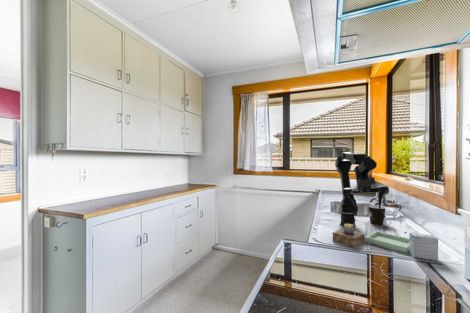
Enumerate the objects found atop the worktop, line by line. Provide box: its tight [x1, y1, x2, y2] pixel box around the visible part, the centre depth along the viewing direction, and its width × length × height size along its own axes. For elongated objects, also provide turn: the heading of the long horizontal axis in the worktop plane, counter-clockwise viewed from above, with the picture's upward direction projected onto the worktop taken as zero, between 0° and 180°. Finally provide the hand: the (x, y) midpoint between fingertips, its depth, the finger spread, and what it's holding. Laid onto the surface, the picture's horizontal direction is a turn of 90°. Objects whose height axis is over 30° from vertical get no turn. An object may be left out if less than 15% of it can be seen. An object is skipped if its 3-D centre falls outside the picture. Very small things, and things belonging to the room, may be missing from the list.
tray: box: [364, 230, 410, 255], centre depth 103 cm, size 16×14×2 cm
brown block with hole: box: [332, 227, 365, 248], centre depth 106 cm, size 10×10×4 cm
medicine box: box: [408, 232, 439, 261], centre depth 90 cm, size 8×4×9 cm, turn 71°
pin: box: [343, 223, 354, 235], centre depth 106 cm, size 3×3×8 cm
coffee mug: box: [368, 204, 386, 226], centre depth 132 cm, size 12×9×10 cm
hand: (368, 209), depth 104 cm, fingers open, 9 cm apart
